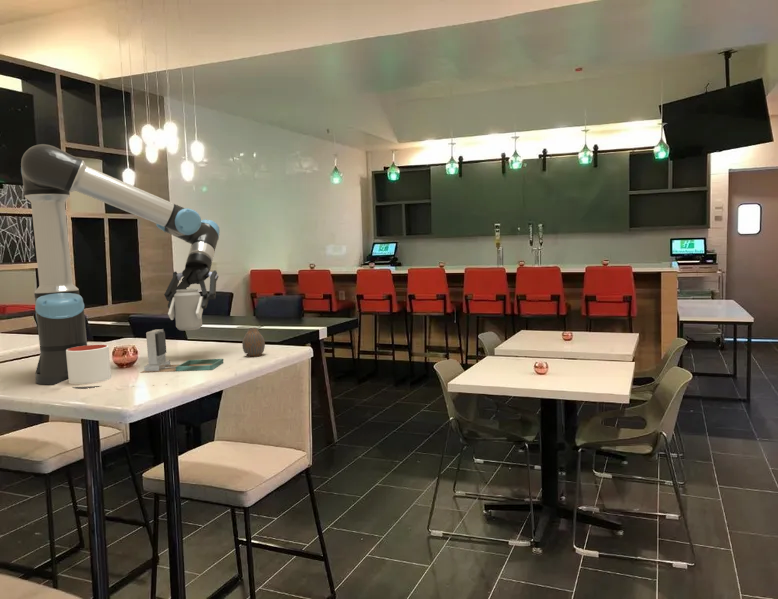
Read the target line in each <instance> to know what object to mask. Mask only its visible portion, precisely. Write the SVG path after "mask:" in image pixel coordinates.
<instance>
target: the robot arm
mask: <svg viewBox="0 0 778 599" xmlns="http://www.w3.org/2000/svg"><path fill="white" fill-rule="evenodd" d="M20 162H21V163H20V166H21V167H20V173H21V177H22V184H23V185H22V186H23V193H24V194H23V195H24V196H23V197H24V198H25V199H27V201H29V202H30V204H31V205H30V206H31V214H32V216H31V217H32V224H33V233H34V242H35V254H36V255H35V256H36V263H37V264H36V265H37V276H38V285H39V286H38V287H37V288H36V289H35V291H34V292H33V294H34V295H33V296H34V302H35V306H34V309H35V320H36V324H37V333H38V334H37V335H38V342H39V358H38V362H37V367H36V370H35V374H34V378H35V379H34V380H35V383H36V384H40V385H56V384H60V383H62V382H65V381H67V380H68V381H69V379H68V368H67V357H66V350H67V349H69V348H73V347H79V346H87V345H88V340H87V330H86V329H87V327H86V316H85V303H84V298H83V297H82V296H81V295H80V290H79V289H80V288H78V287H77V286H76V285H75V284H73V274H72V265H71V264H72V263H71V255H70V254H71V253H70V245H69V244H70V241H69V233H68V224H67V213H66V212H67V211H66V201H67V200H68V199H69V198H70V197H71V196H70V194H71V193H72V192H77V193H80V194H82V195H85V196H87V197H89V198H91V199H94V200H97V201H100V202H102V203H105V204H107V205H109V206H111V207H113V208H114V207H115V208H117V209H120V210H122V211H125V212H127V213H130V214H132V215H135V216H137V217H139V218H142V219H143V220H147V221H149V222H152V223H154V224H155V226H156V227H157V228H158V229H159V230H161V231H163V232H164V233H167V234H168V235H171V236H174V237H176V238H178V239H180V240H182V241H184V242H185V243H188V244H190V245H191V246H190V249H189V252H188V255H187V258H186V262H185V266H184V267H185V268H184V269H183V270H182V272H177V271H174V272H172V278H171V281H170V282H169V284H168V286H167V288H166V290H165V292H164V294H163V295H164V297H165V299H166V301H167V308H168V312H167V316H168V317H169V319H170V321H173V320H174V318H175V302H174V295H175V294H176V292H177V291H176V290H180V289H188V288H190V286H191V285H195V284H196V285H200V289H201V293H202V296H200V298H199V302H198V306H197V310H196V315H197V318H198V319H201V316H203V312H204V310H206V309H207V308H208V304H209V301H210V300H213V301H214V300H216V296H217V295H216V294H217V293H216V292H217V281H218V279H219V274H218V272H217V270H212V271H211V268H212V264H213V260H214V258H215V257H214V255H215V253H216V249H217V245H218V242H219V238H220V227H219V225H218V223H217V222H215V221H214V220H212V219H202V217H201V216H200V214H199V212H197V211H196V210H195V209H191V208H188V207H185V208H184V207H183V206H181V205H178V204H175V203H173V202H171V201H169V200H167V199H164V198H162V197H161V196H160V197H159V196H157V195H155V194H152V193H150V192H148V191H146V190H143V189H141V188H138V187H136V186H134V185H131V184H129V183H127V182H124V181H122V180H120V179H118V178H116V177H113V176H111V175H109V174H106V173H104V172H101V171H99V170H97V169H94V168H92V167H90V166H87V165H86V163H85V161H84V160H83V159H80V158H78V157H76V156H74V155H72V154H70V153H69V152H66V151H64V150H63V149H60V148H58V147H56V146H54V145H50V144H45V143H41V144H36V145H33V146H31V147H29V148H28V149H27V150H26V151H25V152H24V153H23V155H22V157H21V161H20ZM208 278H210V279H209V290H208V291H207V287H206V283H205V281H206V280H207V279H208ZM208 292H209V293H208Z"/></svg>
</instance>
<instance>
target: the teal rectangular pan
mask: <svg viewBox="0 0 778 599" xmlns="http://www.w3.org/2000/svg"><path fill="white" fill-rule="evenodd" d="M223 364H224V358H210V359H207V358H206V359H202V358H201V359H188V360H186V361H184V362H182V363H180V364H170V366H169V367H165V368H164V369H163V370H161V371H153V372H152V373H170V372H171V373H172V372H173V373H175V372H197V371H198V372H199V371H213V370H215V369H216V368H218V367H220V366H221V365H223ZM139 373H140V374H145V373H151V372H145V369H144V370H143V371H140V372H139Z"/></svg>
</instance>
